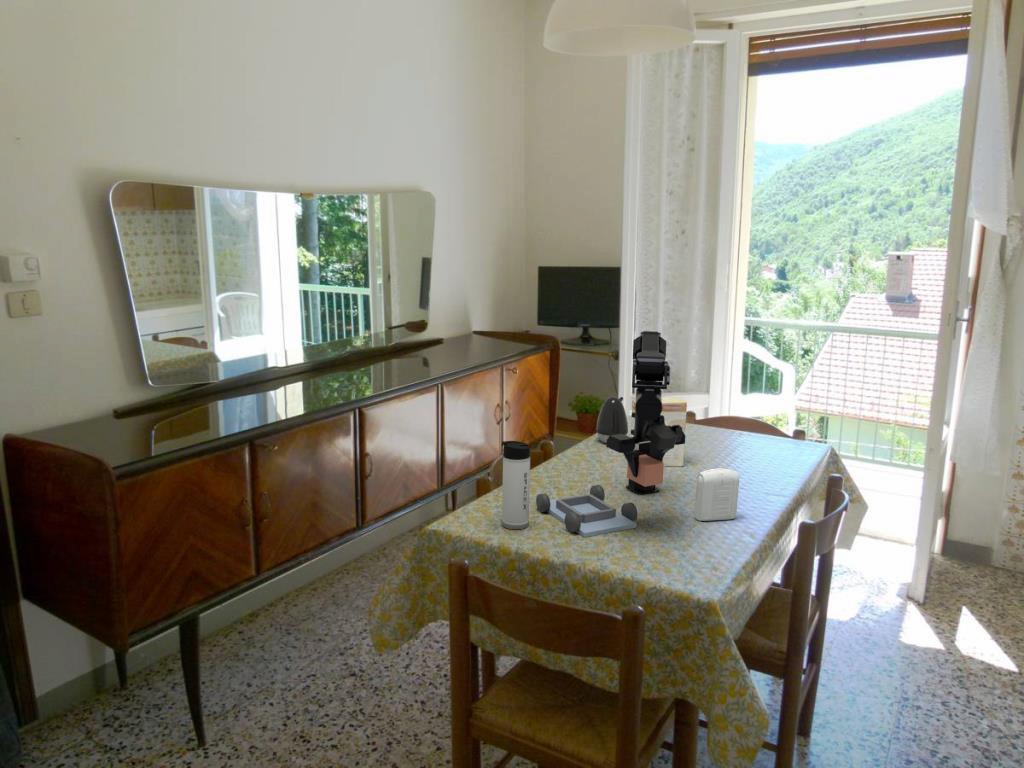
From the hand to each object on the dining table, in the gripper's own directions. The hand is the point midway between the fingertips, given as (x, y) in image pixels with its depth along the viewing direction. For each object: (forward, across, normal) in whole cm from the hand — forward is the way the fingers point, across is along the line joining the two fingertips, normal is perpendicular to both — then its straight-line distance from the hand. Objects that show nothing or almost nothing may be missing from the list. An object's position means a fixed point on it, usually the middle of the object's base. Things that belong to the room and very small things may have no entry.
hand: (644, 475), depth 176 cm
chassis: (+12, -10, +10) cm, 18 cm away
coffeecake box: (+12, +33, +37) cm, 51 cm away
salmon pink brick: (+1, 0, 0) cm, 1 cm away
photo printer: (+12, +18, -5) cm, 22 cm away
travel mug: (+12, -28, +12) cm, 32 cm away
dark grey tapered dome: (+12, +34, +62) cm, 72 cm away
